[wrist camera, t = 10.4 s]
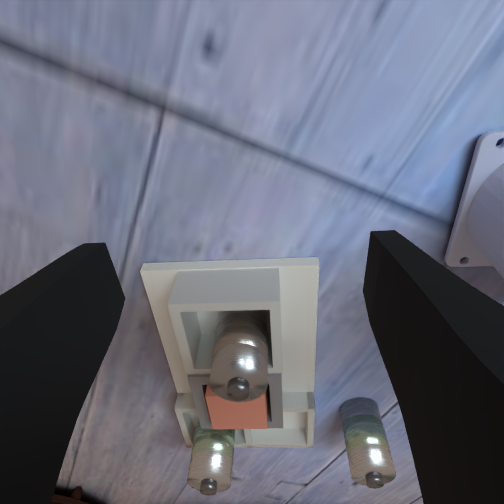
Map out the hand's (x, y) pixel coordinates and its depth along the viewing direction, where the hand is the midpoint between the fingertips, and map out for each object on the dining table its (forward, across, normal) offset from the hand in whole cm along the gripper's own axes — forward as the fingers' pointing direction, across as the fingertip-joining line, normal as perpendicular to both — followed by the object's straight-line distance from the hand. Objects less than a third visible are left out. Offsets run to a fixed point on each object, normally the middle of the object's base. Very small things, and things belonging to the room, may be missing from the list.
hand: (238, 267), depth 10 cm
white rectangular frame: (+10, +2, +16) cm, 20 cm away
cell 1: (+10, +5, +23) cm, 25 cm away
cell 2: (+10, -8, +24) cm, 27 cm away
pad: (+9, +2, +16) cm, 19 cm away
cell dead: (+10, +1, +11) cm, 15 cm away
